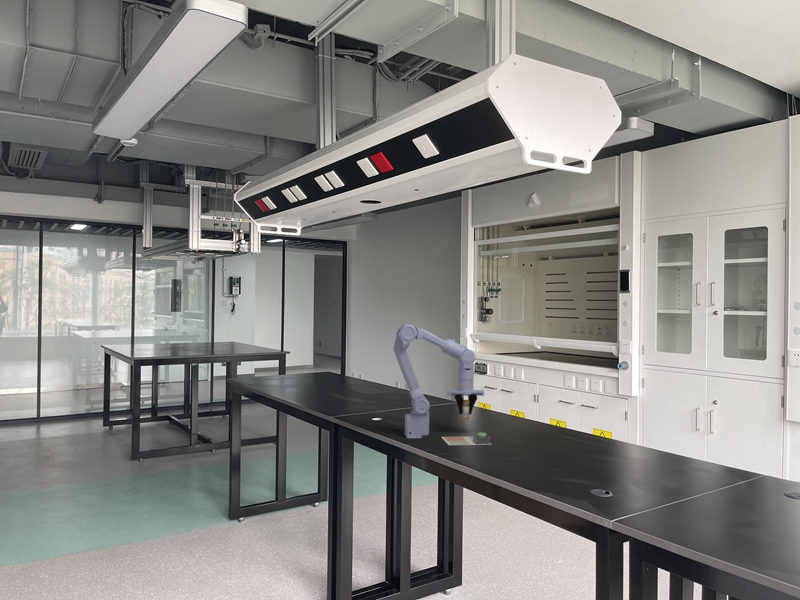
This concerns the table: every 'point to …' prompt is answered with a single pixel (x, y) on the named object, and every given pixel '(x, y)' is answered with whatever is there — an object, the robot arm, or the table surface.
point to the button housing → (481, 439)
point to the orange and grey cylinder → (465, 409)
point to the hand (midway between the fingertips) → (465, 414)
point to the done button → (481, 434)
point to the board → (460, 441)
